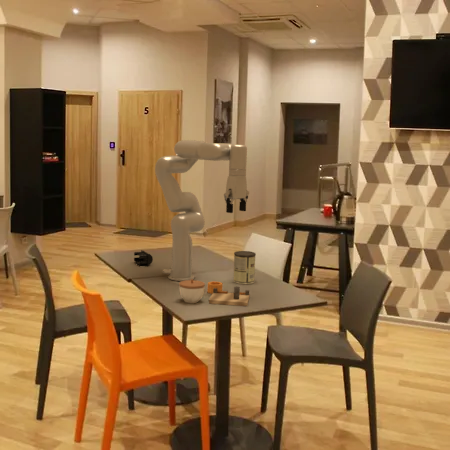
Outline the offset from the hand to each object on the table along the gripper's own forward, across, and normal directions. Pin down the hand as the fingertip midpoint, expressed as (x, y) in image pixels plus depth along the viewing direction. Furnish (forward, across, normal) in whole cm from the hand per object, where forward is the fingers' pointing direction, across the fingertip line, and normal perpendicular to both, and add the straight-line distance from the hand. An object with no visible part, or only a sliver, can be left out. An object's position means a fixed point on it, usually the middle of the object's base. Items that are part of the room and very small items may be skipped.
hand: (236, 211), depth 281 cm
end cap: (+36, -11, -67) cm, 77 cm away
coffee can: (+36, -19, -8) cm, 42 cm away
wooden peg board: (+36, +12, +7) cm, 39 cm away
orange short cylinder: (+36, +6, -6) cm, 37 cm away
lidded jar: (+37, +24, -4) cm, 44 cm away
